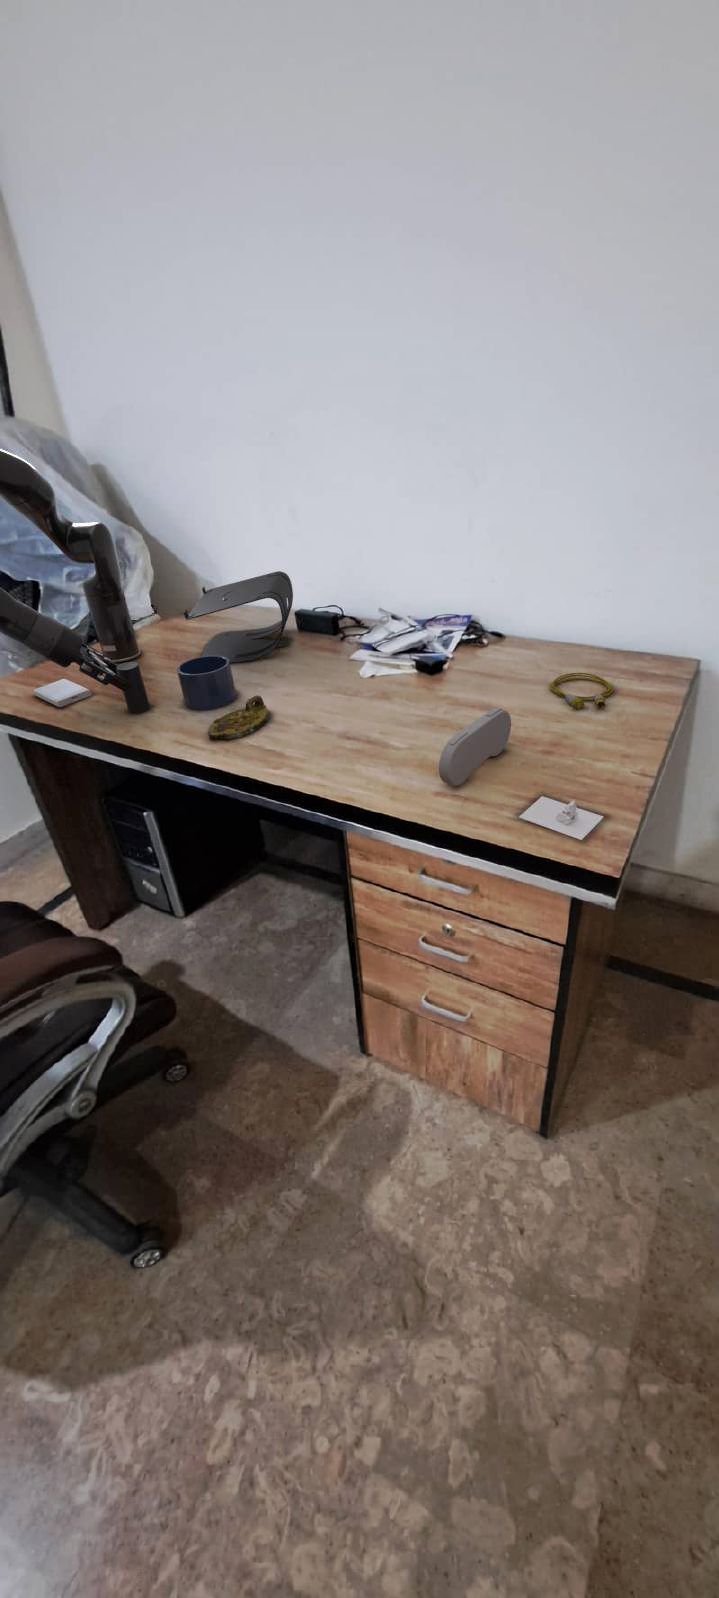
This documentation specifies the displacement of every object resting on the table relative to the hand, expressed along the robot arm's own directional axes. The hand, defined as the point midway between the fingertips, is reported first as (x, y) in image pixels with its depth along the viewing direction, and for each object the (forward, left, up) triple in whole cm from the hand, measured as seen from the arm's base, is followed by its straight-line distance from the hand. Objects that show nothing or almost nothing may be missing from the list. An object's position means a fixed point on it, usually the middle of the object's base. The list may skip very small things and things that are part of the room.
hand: (126, 680), depth 143 cm
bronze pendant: (+21, +18, -7) cm, 29 cm away
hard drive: (-19, -14, -7) cm, 25 cm away
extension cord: (+46, +82, -7) cm, 94 cm away
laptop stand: (-25, +33, -7) cm, 42 cm away
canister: (0, +1, -7) cm, 7 cm away
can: (+4, +16, -7) cm, 18 cm away
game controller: (+60, +49, -7) cm, 78 cm away
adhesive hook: (+79, +52, -7) cm, 95 cm away
